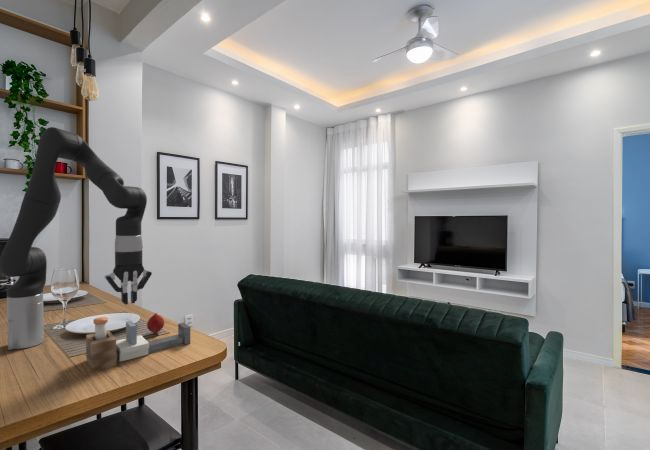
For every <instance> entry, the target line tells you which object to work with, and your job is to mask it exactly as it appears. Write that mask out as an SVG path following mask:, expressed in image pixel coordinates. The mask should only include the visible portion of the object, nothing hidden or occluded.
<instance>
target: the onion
mask: <svg viewBox="0 0 650 450" xmlns="http://www.w3.org/2000/svg"><path fill="white" fill-rule="evenodd" d="M146 327H147V329H148V330H149V331H150V332H151V333H153V334H156V335H157V334H158V333H159V332H160V331H161V330H162V329H163V328H164V327H165V321H164V318H163V316H160V315H159V314H158V312H155V313H154V314H153V315H152V316H151V317H150V318H149V319H148V321H147V323H146Z"/></svg>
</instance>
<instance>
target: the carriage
mask: <svg viewBox="0 0 650 450" xmlns="http://www.w3.org/2000/svg"><path fill="white" fill-rule="evenodd" d="M137 331H138V329H137V324H135V323H134V322H133V321H132V320H129V321H125V338H122V339H118V340H117V339H116V349H117V351H118V352H119V361H118V362H123V361H124V362H125V361H128V360H132V359H136V358H140V357H142V356H143V357H144V356H147V355H149V353H148V348H149V342H148V341H149V340H148V341H147V339H145V338H144V336H142V335H141V334H140V335H138V334H137V333H138V332H137Z"/></svg>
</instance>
